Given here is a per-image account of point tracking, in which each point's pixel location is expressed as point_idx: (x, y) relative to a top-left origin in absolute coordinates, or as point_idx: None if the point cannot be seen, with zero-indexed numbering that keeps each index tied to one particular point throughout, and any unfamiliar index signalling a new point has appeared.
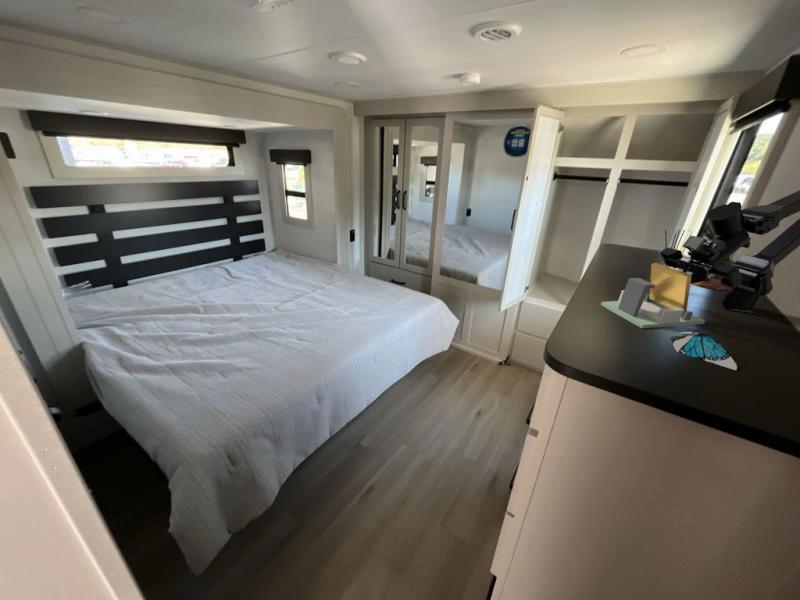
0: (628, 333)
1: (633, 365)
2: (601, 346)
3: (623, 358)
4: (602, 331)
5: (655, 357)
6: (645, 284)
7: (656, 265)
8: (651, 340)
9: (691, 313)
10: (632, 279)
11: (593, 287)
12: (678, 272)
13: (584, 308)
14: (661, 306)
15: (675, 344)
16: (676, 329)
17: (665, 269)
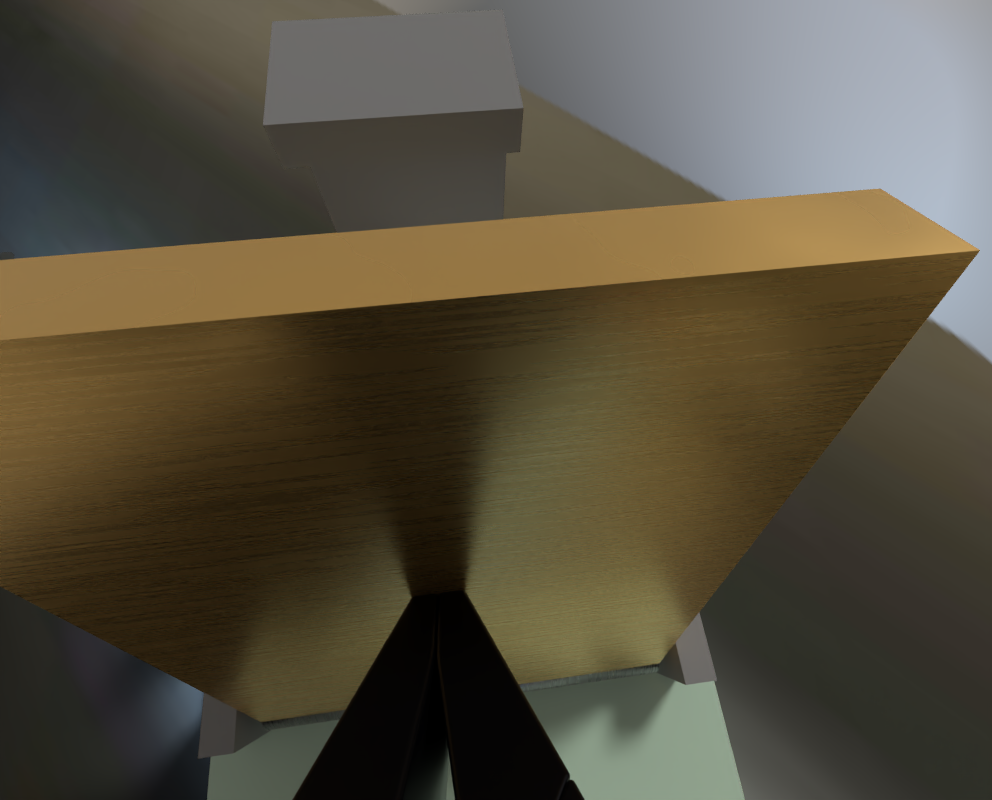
0: (233, 181)
1: (20, 52)
2: (170, 29)
3: (71, 48)
4: None
5: (20, 153)
6: (290, 34)
7: (756, 209)
8: (140, 239)
9: (203, 731)
10: (461, 16)
11: (958, 397)
12: (73, 283)
13: (534, 144)
14: (542, 693)
15: (2, 258)
16: None
17: (452, 233)
